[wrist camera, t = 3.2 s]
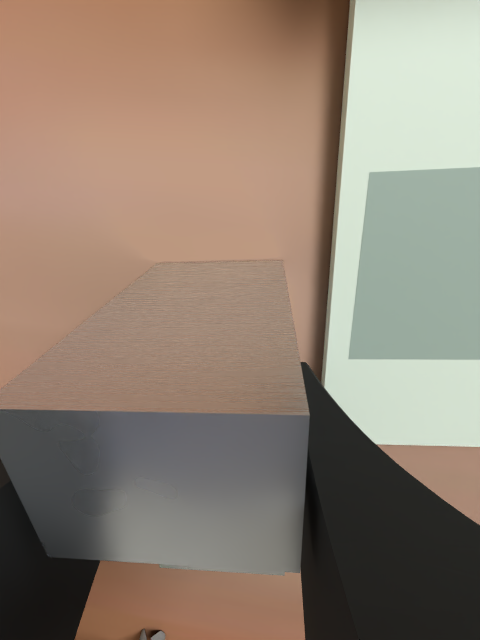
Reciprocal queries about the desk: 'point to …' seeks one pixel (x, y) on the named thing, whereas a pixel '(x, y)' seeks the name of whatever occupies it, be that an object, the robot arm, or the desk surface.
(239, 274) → the bracket
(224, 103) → the desk surface
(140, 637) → the mechanical component
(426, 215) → the corner arena
